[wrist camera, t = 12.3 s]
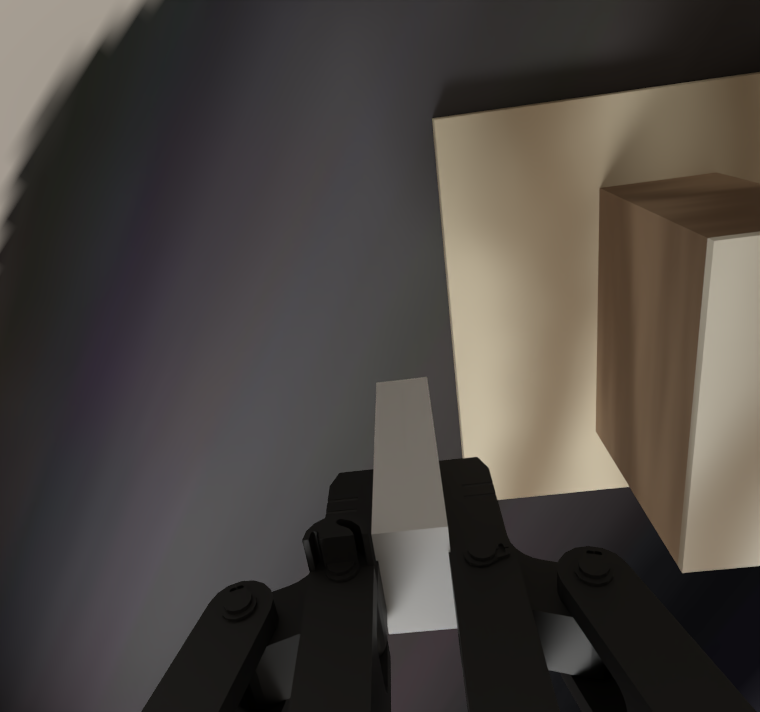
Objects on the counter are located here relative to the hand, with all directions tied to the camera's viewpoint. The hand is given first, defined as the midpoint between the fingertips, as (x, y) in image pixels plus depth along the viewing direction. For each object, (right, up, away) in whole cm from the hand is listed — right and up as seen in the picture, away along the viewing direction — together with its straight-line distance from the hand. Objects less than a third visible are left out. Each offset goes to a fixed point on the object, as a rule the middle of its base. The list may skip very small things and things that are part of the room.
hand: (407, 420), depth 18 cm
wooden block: (+10, +4, +5) cm, 11 cm away
